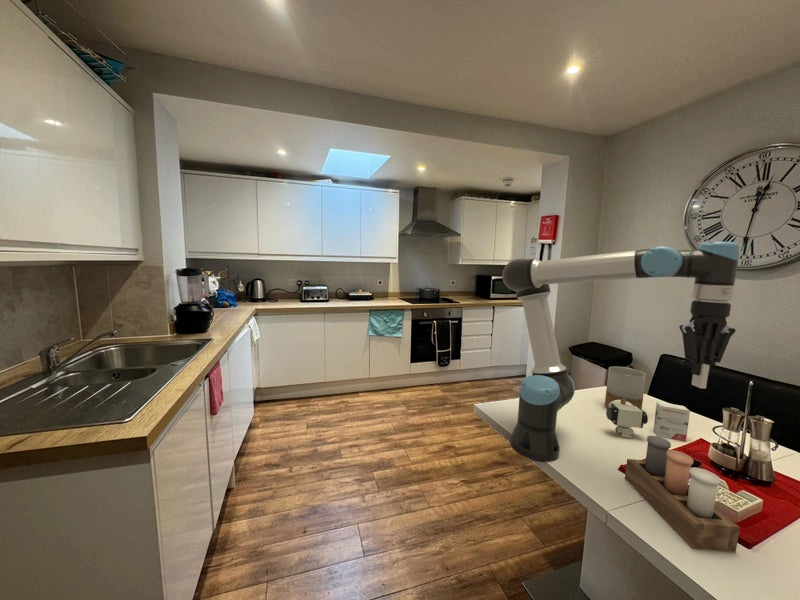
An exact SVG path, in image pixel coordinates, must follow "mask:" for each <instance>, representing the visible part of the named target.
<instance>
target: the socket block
mask: <svg viewBox="0 0 800 600" xmlns="http://www.w3.org/2000/svg"><path fill="white" fill-rule="evenodd" d="M645 461H646V459H633V458H626V463H625V465H626V466H625V472H624V473H625V474H624V479H625V481H627V482H628V484H629V485H631V486H632V488H634V490H635V491H636V492H637V493H638V494H639V495H641V497H642V498H643V499H644V500H645V501H646V502H647V503H648V504H649V505H650V506H651V507H652V509H653V510H655V512H656V513H657V514H659V516H660V517H661V518H662V519H663V520H664V521H665V522H666V523H667V524H668V525H669V526H670V527H671V529H673V530H674V531H675V533H677V535H679V537H680V538H682V540H683V541H684V542H685V543H686V544H687V545H688V546H689V548H691V549H695V550H705V551H715V552H716V551H717V552H725V553H726V552H727V553H736V552H737V547H738V541H739V536H740V535H739V534H740V530H741V526H739V525H738V524H737V523H736V522H735V521H734V520H732V519H731V518H730V517H728V516H727V515H726V514H724V513H723V512H722V511H721V510H720V509H719V508H717V507H716V506H715V505H714V511H713V518H712V519H709V518H698V517H696V516H695V515H694V514H693V513H692V512H691V511H690V510H688V509H687V508H686V505H687V498H688V492H689V485H690V484H688V489H687V496H681V495H672V494H671V493H670V492H669V491H668V490H667V489H666V488H664V480H665V477H660V476H651V475H650V474H649V473H648V472H647V471H646V470H645Z"/></svg>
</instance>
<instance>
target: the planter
mask: <svg viewBox="0 0 800 600" xmlns="http://www.w3.org/2000/svg"><path fill="white" fill-rule="evenodd" d="M646 378H647V374H646V373H645V372H643V371H641V370H638V369H635V368H631V367H625V366H609V367H608V373H607V381H606V391H605V397H604V399H605V400H604V408H606V409H607V408H608V407H609V406H610V405H611V403H612V402H614V401H620V402H619V404H622V405H624V404H627V403H630V404H631V406H638V407H639V408H640V409H642V410H643V402H644V392H645V386H646V385H645V384H646Z"/></svg>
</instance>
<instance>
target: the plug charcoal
mask: <svg viewBox="0 0 800 600" xmlns="http://www.w3.org/2000/svg"><path fill="white" fill-rule="evenodd" d="M646 442H647V447H646V455H645V460H646V461H645V470H646V471H647V472H648V473H649V474H650V475H651V476H660V477H665V472H666V465H667V458H668V457H667V456H666V453H667V451H668V450H670V449H671V448H672V447H671V446H672V443H671V442H670V441H669V440H668V439H667V438H664V437H660V436H657V435H647V437H646Z"/></svg>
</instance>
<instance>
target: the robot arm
mask: <svg viewBox="0 0 800 600" xmlns="http://www.w3.org/2000/svg"><path fill="white" fill-rule="evenodd" d="M739 253H740V245H739V244H738V243H737V242H733V241H705V242H702V243H700V244H699V247H698V248H697V249H691V250H689V249H688V250H687V249H684V250H683V249H676V248H674V247H672V246H667V245H660V246H659V245H658V246H654V247H652V248H645V249H637V250H636V249H635V250H626V251H625V250H624V251H617V252H609V253H602V254H599V253H598V254H592V255H582V256H575V257H566V258H557V259H548V260H540V259H539V258H529V259H525V258H516V259H513V260H511V261H509V262H507V264H505V266H504V269H503V270H502V281H503V284H504V285H505V286H506V288H508V289H509V290H511V291H513V292H515V294H516V297H517V298H516V299H517V300H519V301H520V302H522V307H523V313H524V317H525V323H526V327H527V331H528V337H529V342H530V346H531V352H532V355H533V356H532V357H533V361H534V367H533V368H532V370H531V374H532V375H528V376H526V377H524V378H523V379H522V380H521V382H520V387H519V389H518V390H519V396H518V397H519V399H518V409H517V410H518V413H517V422H516V424H515V426H514V428H513V430H512V433H511V435H510V441H509V442H510V447H511V448H512V449H513V450H514V451H515V452H516V453H517V454H519V455H521V456H523V457H524V458H527V459H530V460H533V461H537V462H552V461H555V460H557V459H559V457H560V452H561V451H560V450H561V449H560V444H559V443H560V442H559V439H558V435H557V432H556V427H557V426H556V425H557V416H558V412H559V411H560V410H561V409H562V408H563V407H564V406H566V405H568V404H569V403H570V401H572V399H573V398H574V395H575V393H576V392H575V388H576V387H575V383H574V380H573V379H572V376H571V377H570V375H568V369H567V367H566V366H565V365H564V364H562V363H561V358H560V353H559V348H558V342H557V339H556V334H555V330H554V323H553V320H552V319H553V318H552V314H551V311H550V310H551V309H550V305H549V301H548V297H549V296H550V294H551V292H552V291H551V288H550V285H554V284H555V285H556V284H569V283H572V284H573V283H582V282H583V283H585V282H598V281H613V280H629V279H631V280H632V279H648V278H649V279H650V278H687V279H689V278H690V279H691V278H693V279H694V281H693V282H694V284H693V290H692V297H691V298H692V299H694V300H692V301H691V305H690V314H691V318H690V319H689V322H688V323H686V324H685V325H684V324H681V325H679V326H678V327H679V330H680V332H681V333H682V334H681V335H682V340H683V351H684V359H685V360H688V361H690V362H691V363H692V364H691V371H690V372H691V374H692V378H691V386H695V387H697V388H699V389H705V390H706V389H707V384H708V378H709V376H710V375H711V370H712V366H713V367H714V366H716V365H717V363H721V361H722V359H723V357H724V354H725V351H726V349H727V346H728V344H729V342H730V339H731V337H732V336H733V335H734V334H735V333H736V329H735V328H732V327H730V326H729V325H727V324H728V322H727V318H729V317H730V316H731V315H730V314H731V307H732V304H731V303H729V302H731V301H732V300H733V294H734V288H735V282H736V276H737V269H738V264H739V257H740V256H739V255H740V254H739Z"/></svg>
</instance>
